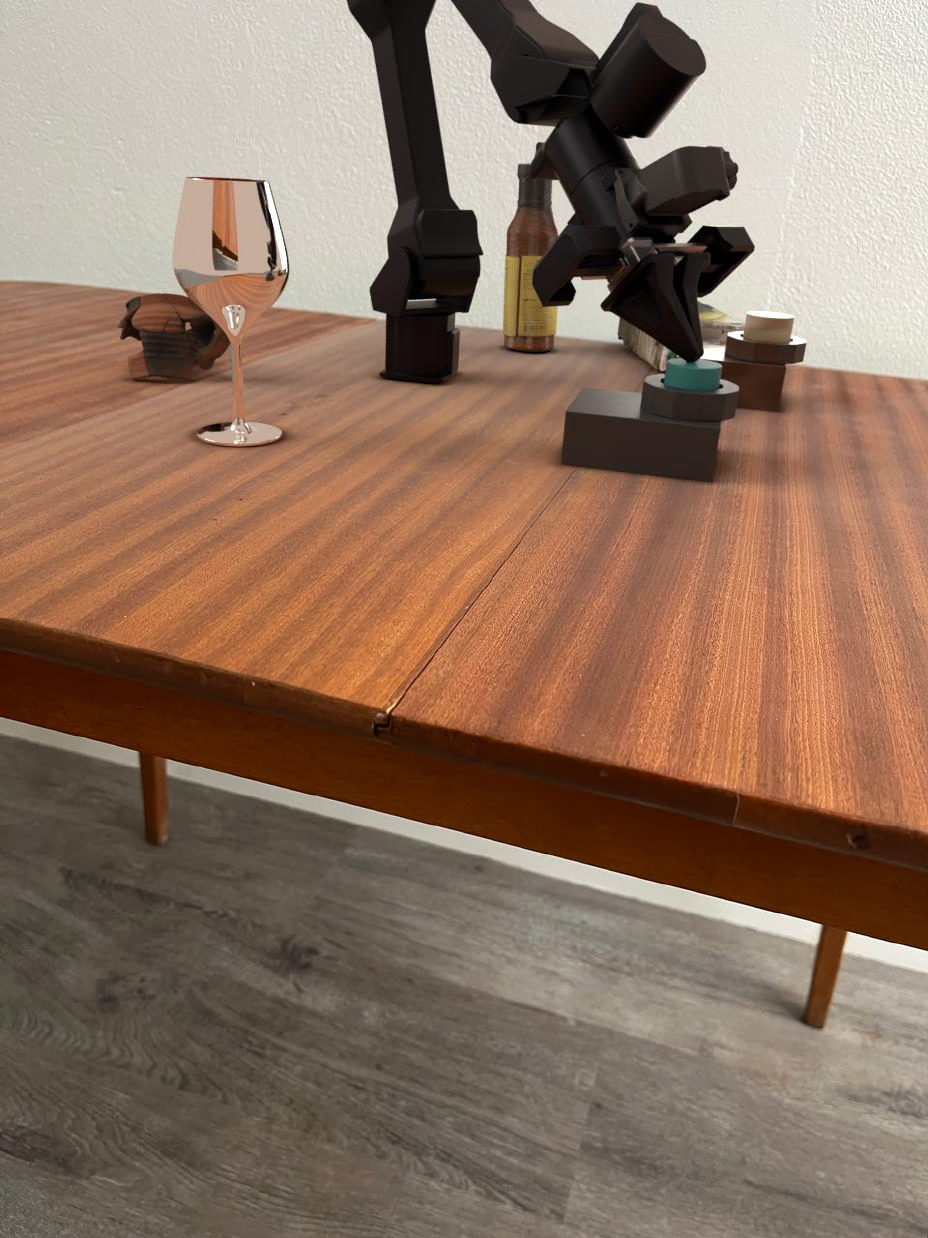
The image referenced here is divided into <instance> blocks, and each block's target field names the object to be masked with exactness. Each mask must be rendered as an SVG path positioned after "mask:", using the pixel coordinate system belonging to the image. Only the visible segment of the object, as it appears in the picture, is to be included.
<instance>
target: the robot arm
mask: <svg viewBox="0 0 928 1238" xmlns="http://www.w3.org/2000/svg"><path fill="white" fill-rule="evenodd" d="M450 2H451V3H452V4H453V6H454V7H455V9H456V10H457V12H458V13H459V14H460V15H461V17H462V18H463V20H464V21H465V23H466V24H467V25H468V27H469V28H470V29H471V31H472V33H473V34H474V35H475V36H476V38H477V39H478V40H479V42H480V44H482V46H483V47H484V49H485V51H486V52H487V55H488V56H489V58H490V72H489V73H490V75H489V79H490V82H491V85H492V87H493V89H494V90H495V93H496V95H497V97H498V100H499V102H500V104H501V106H502V108H503V109H504V112H505V113H506V115H507V117H508V118H509V119H510V120H511V121H512V122H513V123H516V124H519V125H527V126H528V125H529V126H539V127H540V126H542V127H552V128H553V130H552V131H551V132H550V134H549V135H548V137H547V138H546V140H545V141H538V142H537V143H536V144H535V152H534V156H533V158H532V160H531V162H530V163H531V165H530V172H529V176H530V178H531V179H539V180H552V181H558V182H559V184H560V187H561V188H562V190H563V192H564V194H565V196H566V198H567V199H568V202H569V204H570V205H571V207H572V209H573V212H574V213H573V215H572V216H571V217H570V219H569V220H568V221H567V222H566V226H565V227H564V228H563V230H562V231H561V232H560V233H559V234H558V237H557V238H556V240H555V241H554V242H553V244H552V245H551V246H550V247H549V249H548V250H547V251H546V252H545V254H544V255H543V256H542V258H541V259H540V260H539V261H538V263H537V264H536V265H535V266H534V269H533V278H532V286H533V288H534V290H535V292H536V294H537V296H538V298H539V300H540V302H541V304H542V306H543V307H553V306H558V307H568V306H570V305H571V304H572V303H573V302H574V299H575V296H576V294H577V289H576V288H575V285H574V283H573V279H574V278H580V279H581V280H582V281H592V280H593V281H597V280H599V281H600V280H606V281H607V286H606V287H607V290H608V291H609V293H608V295H607V296H606V297H605V298H604V300H602V302H601V303H600V305H599V306H600V308H601V310H602V311H603V312H606V313H612V314H614V316H617V317H618V318H619V319H620V318H622V319H623V320H625V321H626V322H628V323H630V324H631V325H633V326H635V327H636V328H638V329H639V330H641V331H643V332H644V333H646V334H647V335H649V336H651V337H652V338H653V339H654V340H656V341H657V342H659V343H660V344H662V345H663V346H665V347H666V348H667V349H669V350H670V351H672V352H673V353H675V354H676V355H678V356H679V357H680V358H682V359H683V360H685V361H686V362H688V363H690V362H696V361H698V360H699V359H700V358H701V357H702V356H703V354H704V348H703V341H702V333H701V326H700V318H699V311H698V303H697V300H698V299H701V298H704V297H706V296H709V295H710V294H712V293H713V292H714V291H715V290H716V289H717V288H718V287H719V286H720V285H721V283H723V282H724V281H725V280H726V279H727V278H728V277H730V275H731V274H732V273H733V272H735V270H736V269H737V268H739V267H740V265H742V264H743V262H745V261H746V260H747V259H748V258H749V257H750V255H752V254H753V253H754V252H755V249H756V248H755V247H756V246H755V244H754V242H753V240H752V238H751V237H750V235H749V233H748V231H747V230H746V229H747V228H745V226H740V225H727V224H725V225H722V224H719V225H717V224H715V225H713V224H712V225H711V224H709V225H708V224H707V225H706V224H705V225H704V224H703V225H702V226H701V227H700V228H699V229H698V230H697V231H696V232H695V233H694V234H693V235H692V236H691V237H690V238H689V240H688V241H687V242H677V239H676V236H678V235H679V234H683V233H685V232H686V231H687V229H688V228H689V227H690V226H691V225H692V224H693V220H692V218H691V216H690V214H691V213H694V212H696V211H698V210H701V209H703V208H704V207H706V206H707V205H710V204H711V203H713V202H716V201H718V202H722V201H723V200H725V199H727V198H729V197H730V195H731V191H732V190H733V189H735V186H737V182H738V175H737V174H739V173H738V172H739V165H738V163H737V162H735V161H734V160H733V159H732V158H731V154H730V151H727V150H725V149H724V147H723V146H713V145H707V146H698V145H687V146H681V147H678V148H676V149H673V150H672V151H670V152H669V153H667V154H665V155H663V156H661V157H660V158H658V159H656V160H655V161H653V162H651V163H649V164H648V165H646V166H644V167H643V168H642V167H641V165H640V164H639V161H638V160H637V158H636V155H635V154H634V152H633V151H632V148H631V146H630V144H629V143H628V141H627V140H630V139H633V138H639V139H648V138H652V137H653V136H655V134H656V133H657V132H658V131H659V130H660V128H661V127H662V126H663V124H664V123H665V122H666V120H668V119H669V117H670V116H671V114H672V113H673V112H674V111H675V109H676V108H677V107H678V106H679V105H680V104H681V102H682V101H683V100H684V98H685V97H686V96H687V95H688V93H689V92H690V91H691V90H692V88H693V87H694V85H696V83H697V82H698V81H699V80H700V79H701V77H702V76H703V74H705V71H706V69H707V60H706V55H705V53H704V51H703V49H702V47H701V46H700V44H699V43H698V41H697V40H696V39H694V38H691V37H690V36H689V35H688V33H686V32H685V30H684V29H682V28H681V27H680V26H679V25H677V24H676V23H675V22H674V21H672V20H670V19H669V18H667V17H665V16H664V15H663V14H662V11H661V10H660V8H659V6H658V5H656V4H650V3H645V2H635V4H634V5H633V6H632V8H631V9H630V11H629V12H628V14H627V15H626V17H625V19H624V21H623V23H622V25H621V28H620V29H619V30H618V32H617V34H616V35H615V36H614V38H613V40H612V41H611V42H610V43H609V45H608V47H607V48H606V49H605V51H604V53H603V54H602V55H601V57H600V58H599V56H598V54H597V53H596V52H595V51H594V50H593V49H591V48H590V47H589V46H588V45H587V44H586V43H584V42H583V41H582V40H580V39H579V38H578V37H577V36H576V35H575V34H573V33H571V32H570V31H568V30H566V29H564V28H562V27H561V26H559V25H558V24H556V23H553V22H552V21H550V20H548V19H547V18H546V17H545V16H544V15H542V14H541V13H540V12H538V10H537V8H536V7H535V6H534V4H533V3H532V2H531V1H530V0H450ZM436 3H437V0H346V4H347V7H348V10H349V12H350V14H351V15H352V17H353V18H354V19H355V21H356V23H357V24H358V25H359V26H360V28H361V30H362V31H363V32H364V34H365V35H366V36H367V38H368V39H369V41H370V43H371V47H372V53H373V58H374V64H375V65H374V66H375V70H376V77H377V83H378V84H377V85H378V90H379V95H380V96H379V97H380V102H381V107H382V113H383V114H382V115H383V120H384V126H385V133H386V138H387V145H388V151H389V156H390V157H389V158H390V162H391V169H392V174H393V182H394V188H395V194H396V199H397V209H396V212H395V214H394V217H393V219H392V222H391V224H390V228H389V231H388V233H387V236H386V244H387V259H386V261H385V262H384V264H383V266H382V267H381V269H380V271H379V273H377V275H376V276H375V278H374V280H373V282H372V283H371V285H370V286H369V297H370V303H371V308H372V311H374V312H378V313H381V314H385V346H384V347H385V350H384V351H385V353H384V356H385V357H384V368H383V369H381V370H380V371H378V374H379V375H378V376H379V377H380V378H388V379H397V380H405V381H416V382H425V383H433V384H434V383H435V384H443V383H445V382H446V381H447V380H449V379H450V378H451V377H453V376H454V375H455V374H457V373H458V371H459V361H460V343H461V342H460V340H461V339H460V338H461V330H460V328H458V327H456V314H457V313H458V314H459V313H461V314H468V313H470V310H471V306H472V302H473V299H474V295H475V291H476V288H477V285H478V281H479V278H480V277H481V269H482V265H481V256H484V251H483V248H482V246H481V241H480V239H479V238H480V237H479V230H478V229H479V228H478V227H479V225H478V218H477V215H476V213H475V211H474V210H473V209H460V207H459V205H458V204H457V203H456V202H455V200H454V198H453V197H452V196H451V191H450V184H449V179H448V178H449V177H448V172H447V171H448V169H447V164H446V159H445V152H444V151H445V150H444V145H443V138H442V133H441V126H440V119H439V112H438V106H437V100H436V93H435V87H434V80H433V74H432V67H431V62H430V54H429V47H428V42H427V31H426V30H427V27H428V24H429V22H430V19H431V17H432V14H433V11H434V8H435V5H436Z"/></svg>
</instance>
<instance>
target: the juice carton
mask: <svg viewBox="0 0 928 1238" xmlns="http://www.w3.org/2000/svg"><path fill="white" fill-rule="evenodd" d="M697 303H698V311H699V318H700V326H701V333H702V341H703V344H711V345H722V346H726V340H727V334H728V333H729V332H736V331H744V327H745V322H742V320H739V319H737V318H735V317H734V316H732V315H729V314H728V313H726V312H724V311H722V310H720V309H718V308H715V307H713V306H711V305H709V304H707V303H703V302H701V301H699V300H698V299H697ZM617 340H619V341H620V340H621V341H623V345H624V346H625V347H628V348H629V350H630V349H631V351H632V352H633V354H635V355H637V357H639V358H640V359H642V360H644V362H646V363H648V364H650V366H651V367H652V368H654V369H655V370H656V371H658V370H659V371H660V372H665V371H666V364H667V361H668V360H669V359H674V358H677V355H676V354H675V353H673V352H672V351H670V350H669V349H667V348H666V347H665V346H663V345H662V344H660V343H659V342H657V341H656V340H654V339H653V338H652V337H651V336H649V335H647V334H646V333H644V332H643V331H641V330H639V329H638V328H636V327H635V326H633V325H631V324H630V323H628V322H626V321H625V320H623V319H622V318H620V317H619V319H618V328H617Z"/></svg>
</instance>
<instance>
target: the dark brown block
mask: <svg viewBox="0 0 928 1238" xmlns="http://www.w3.org/2000/svg"><path fill="white" fill-rule="evenodd" d="M664 378H665V373H657V374H651V375H647V376H645V378H644V379H643V382H642V389H641V392H635V391H624V390H617V389H616V390H615V389H606V388H605V389H604V388H594V387H587V386H582V388H581V389H580V391H579V392H578V394H577V395H576V396H575V397H574V399H573V401H572V402H571V403H570V405H569V406H568V408H567V409H566V411H565V415H564V424H563V425H564V426H563V435H562V446H561V454H560V455H561V456H560V465H561V466H569V467H571V466H572V467H579V468H587V469H594V470H595V469H596V470H604V471H612V472H621V473H629V474H637V475H645V476H653V477H654V476H655V477H663V478H671V479H679V480H688V481H695V482H696V481H697V482H705V483H713V478H714V472H715V465H716V459H717V453H718V447H719V441H720V435H721V429H722V428H721V427H722V422H724V421H725V422H726V421H728V420H732V419H736V414H737V409H738V408H737V402H738V396H739V386H738V385H736V384H733V383H731V382H729V381H726V380H722V379H720V384H719V389H718V390H701V391H700V390H690V389H681V388H676V387H671V386H667V385H665V384H664Z"/></svg>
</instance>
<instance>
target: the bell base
mask: <svg viewBox="0 0 928 1238" xmlns="http://www.w3.org/2000/svg"><path fill="white" fill-rule="evenodd" d="M743 333H744V331H736V332H729V333H728V334H727V340H726V346H722V345H711V344H703V348H704V354H703V356H702V357H701V358H700V359H702V360H708V361H713V362H716V363H719V364H721V365H722V372H721V378H720V379H722V380H726V381H729V382H731V383H733V384H736V385H738V386H739V396H738V402H737V408H736V409H744V410H745V409H747V410H755V411H763V412H764V411H765V412H776V413H778V412H779V409H780V404H781V399H782V394H783V388H784V383H785V377H786V371H787V365H795V364H799V363H803V362H804V358H805V353H806V348H807V343H808V342H807V341H806V339H805V338H802V337H798V336H795V335H791V339H790V342H766V341H757V340H751V339H746V338H743ZM677 358H680V357H679V356H678V355H677Z"/></svg>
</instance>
